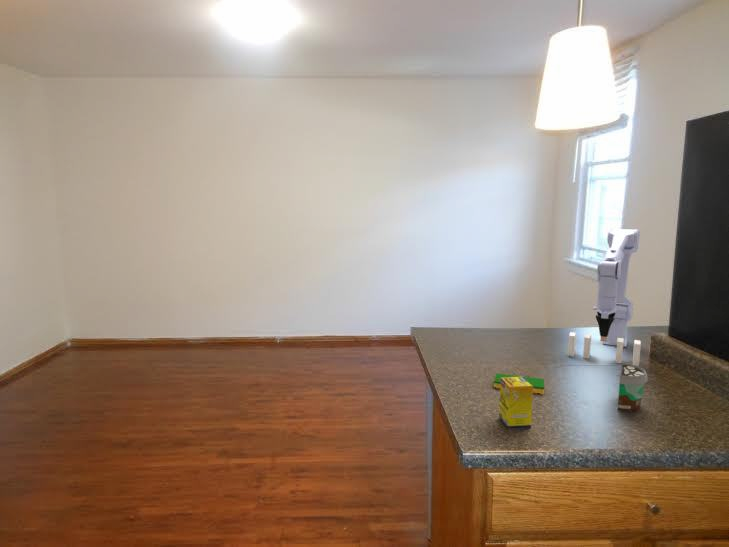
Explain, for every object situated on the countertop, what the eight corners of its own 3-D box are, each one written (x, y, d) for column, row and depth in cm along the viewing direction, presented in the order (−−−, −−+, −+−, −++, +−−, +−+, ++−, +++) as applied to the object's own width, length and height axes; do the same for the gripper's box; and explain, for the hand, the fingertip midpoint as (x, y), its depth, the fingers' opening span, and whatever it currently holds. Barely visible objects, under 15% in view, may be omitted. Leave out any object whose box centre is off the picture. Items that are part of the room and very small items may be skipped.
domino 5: (632, 365, 151) (634, 343, 150) (632, 360, 155) (634, 339, 154) (638, 366, 150) (640, 344, 149) (638, 361, 154) (640, 340, 153)
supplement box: (498, 418, 115) (499, 377, 113) (521, 416, 115) (523, 376, 113) (507, 429, 109) (509, 386, 107) (531, 428, 109) (533, 385, 108)
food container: (644, 418, 114) (648, 380, 112) (617, 412, 117) (620, 375, 116) (645, 400, 124) (648, 365, 123) (619, 395, 127) (622, 361, 126)
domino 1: (567, 355, 161) (568, 335, 160) (569, 351, 165) (570, 332, 164) (573, 356, 160) (574, 336, 159) (574, 352, 164) (576, 332, 163)
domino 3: (600, 341, 155) (601, 320, 154) (601, 337, 159) (602, 316, 158) (606, 341, 154) (607, 320, 153) (607, 338, 158) (608, 317, 157)
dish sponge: (496, 380, 140) (496, 372, 140) (543, 386, 135) (544, 378, 135) (493, 389, 134) (494, 381, 133) (543, 395, 129) (544, 387, 128)
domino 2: (583, 358, 158) (584, 337, 157) (584, 353, 162) (585, 333, 161) (588, 358, 157) (590, 338, 156) (589, 354, 162) (591, 334, 160)
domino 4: (615, 362, 153) (617, 341, 152) (616, 358, 157) (617, 337, 156) (621, 363, 152) (623, 342, 151) (621, 359, 157) (623, 338, 155)
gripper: (595, 291, 162) (592, 327, 164) (592, 298, 150) (589, 338, 152) (617, 293, 159) (615, 330, 161) (616, 300, 146) (613, 341, 148)
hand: (604, 334), depth 156 cm, fingers closed on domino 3, 5 cm apart
